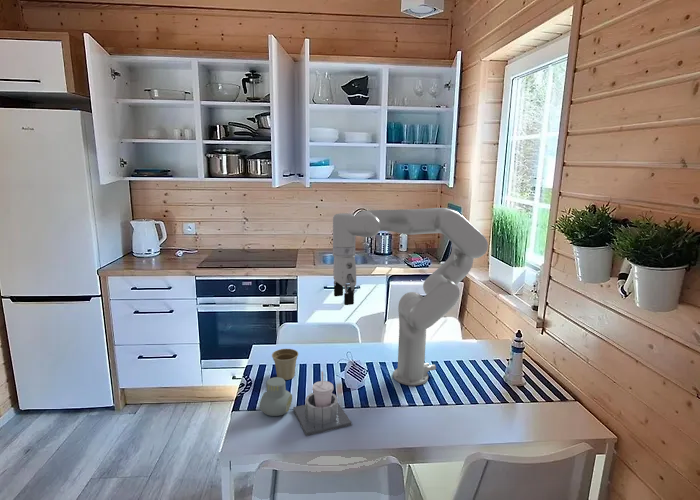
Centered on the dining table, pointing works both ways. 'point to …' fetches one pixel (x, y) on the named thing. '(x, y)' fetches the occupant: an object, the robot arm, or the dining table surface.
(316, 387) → the smoothie
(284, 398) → the air freshener
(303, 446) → the dining table surface
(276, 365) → the flower pot
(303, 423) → the duct collar
